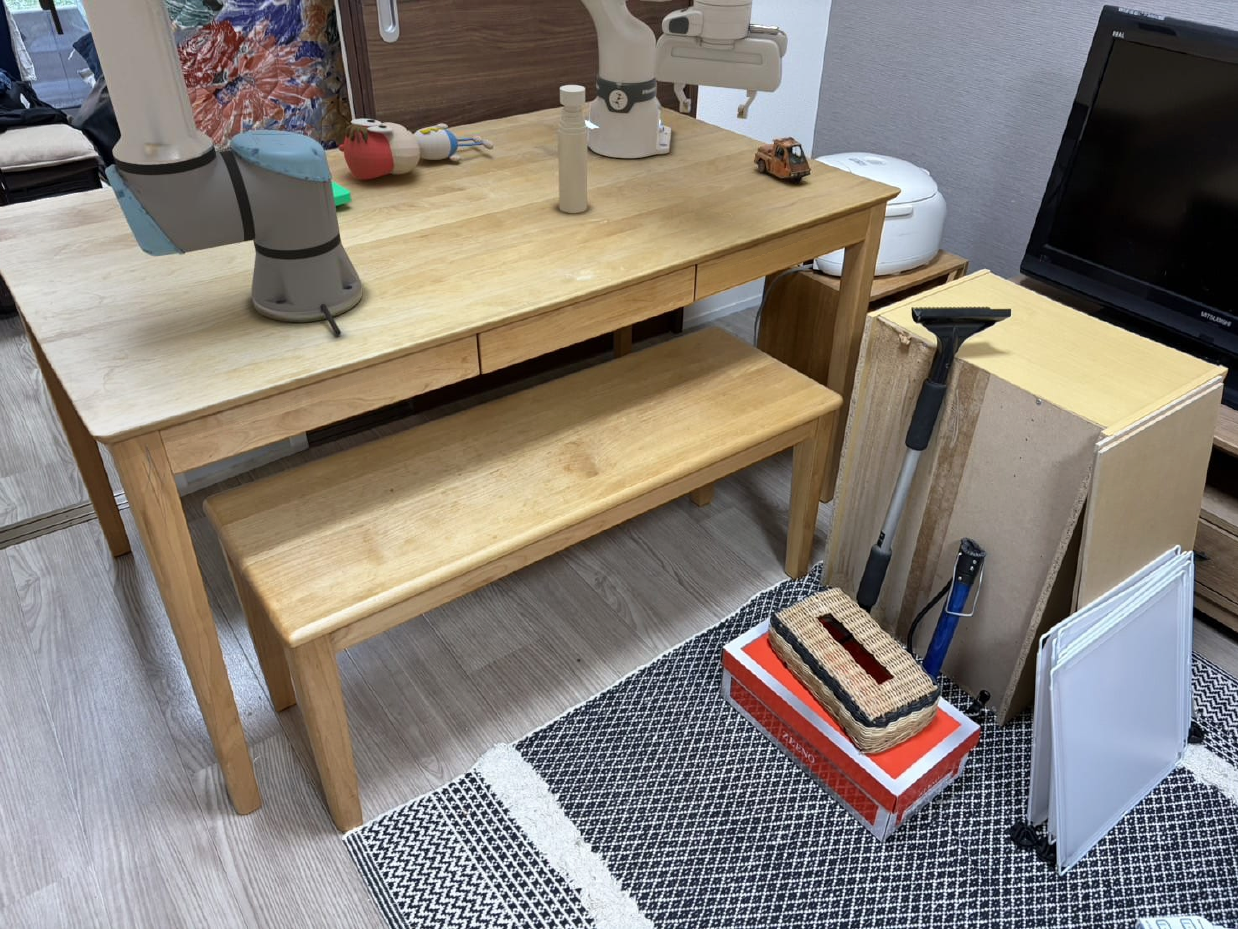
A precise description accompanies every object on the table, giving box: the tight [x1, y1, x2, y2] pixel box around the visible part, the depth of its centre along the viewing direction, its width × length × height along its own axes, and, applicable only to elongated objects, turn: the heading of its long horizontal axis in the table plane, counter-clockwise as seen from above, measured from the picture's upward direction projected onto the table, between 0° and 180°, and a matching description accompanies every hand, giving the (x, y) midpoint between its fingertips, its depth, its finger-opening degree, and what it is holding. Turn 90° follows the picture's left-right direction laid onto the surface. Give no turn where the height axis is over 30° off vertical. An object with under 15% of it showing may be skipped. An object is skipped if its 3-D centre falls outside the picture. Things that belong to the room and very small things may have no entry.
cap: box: [559, 84, 586, 106], centre depth 154 cm, size 4×4×2 cm
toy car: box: [753, 136, 812, 184], centre depth 179 cm, size 6×12×7 cm, turn 39°
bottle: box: [557, 105, 588, 214], centre depth 159 cm, size 5×5×20 cm
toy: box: [338, 118, 494, 181], centre depth 178 cm, size 18×10×30 cm
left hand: (108, 29), depth 146 cm, fingers open, 13 cm apart
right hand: (713, 114), depth 149 cm, fingers open, 8 cm apart
